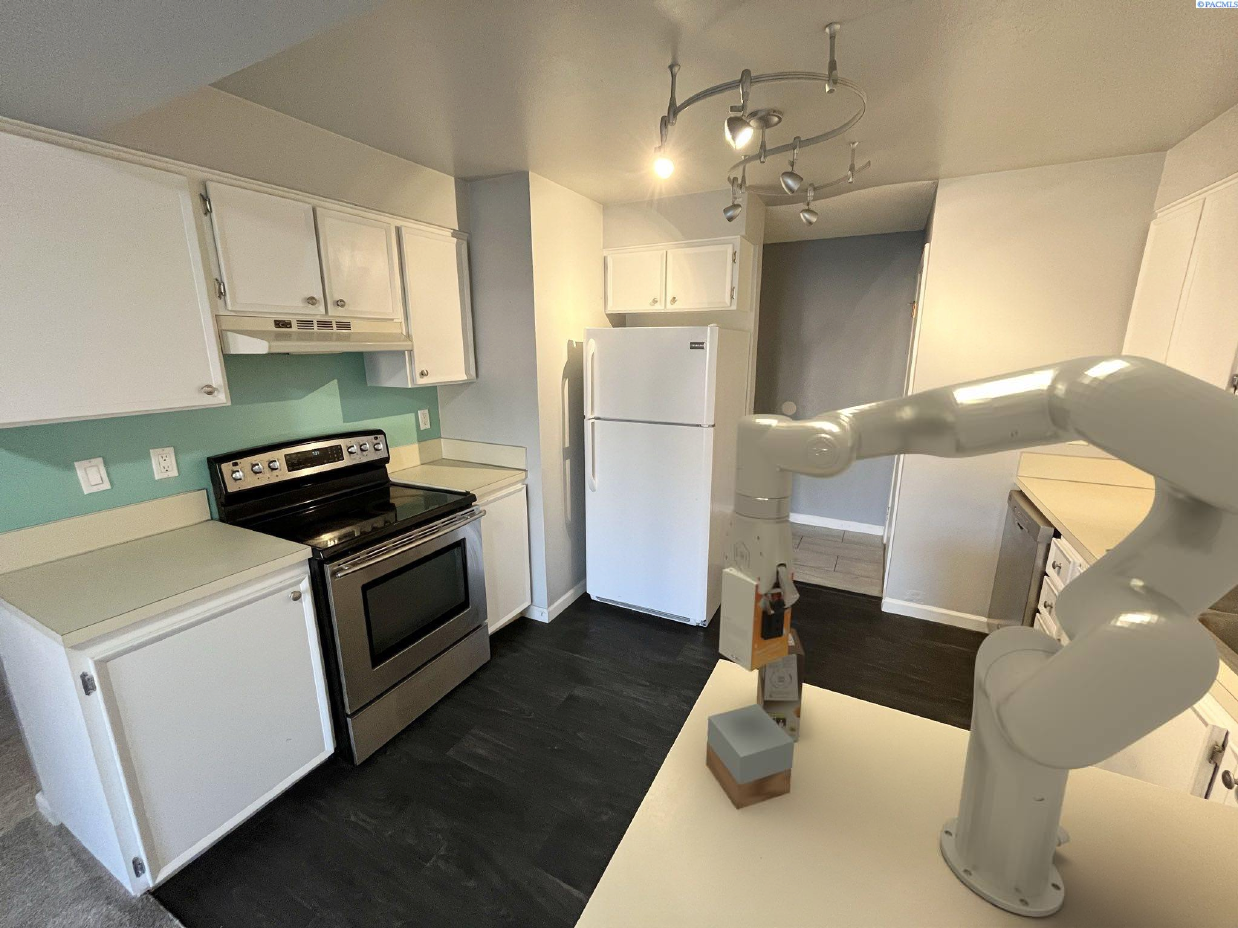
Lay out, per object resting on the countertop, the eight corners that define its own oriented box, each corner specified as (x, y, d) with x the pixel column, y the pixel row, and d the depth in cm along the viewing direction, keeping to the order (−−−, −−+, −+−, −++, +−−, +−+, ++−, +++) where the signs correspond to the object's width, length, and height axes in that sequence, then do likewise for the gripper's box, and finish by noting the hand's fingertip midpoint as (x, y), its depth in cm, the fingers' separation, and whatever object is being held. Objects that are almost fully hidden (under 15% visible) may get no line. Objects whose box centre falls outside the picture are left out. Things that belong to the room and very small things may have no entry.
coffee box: (800, 742, 87) (806, 655, 84) (760, 738, 88) (765, 652, 85) (790, 707, 96) (795, 627, 93) (754, 704, 97) (758, 624, 94)
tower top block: (756, 728, 84) (757, 703, 83) (792, 767, 76) (794, 740, 75) (707, 741, 81) (708, 716, 80) (739, 784, 73) (740, 756, 72)
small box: (750, 673, 71) (755, 584, 68) (717, 652, 76) (720, 568, 73) (789, 655, 75) (795, 570, 73) (755, 636, 80) (760, 557, 78)
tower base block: (754, 751, 85) (756, 727, 84) (789, 793, 77) (791, 767, 76) (706, 765, 82) (707, 741, 81) (736, 811, 74) (738, 783, 73)
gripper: (706, 492, 78) (702, 602, 81) (777, 526, 62) (769, 660, 65) (749, 488, 80) (743, 595, 84) (828, 519, 64) (818, 650, 68)
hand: (755, 623), depth 74 cm, fingers closed on small box, 7 cm apart
